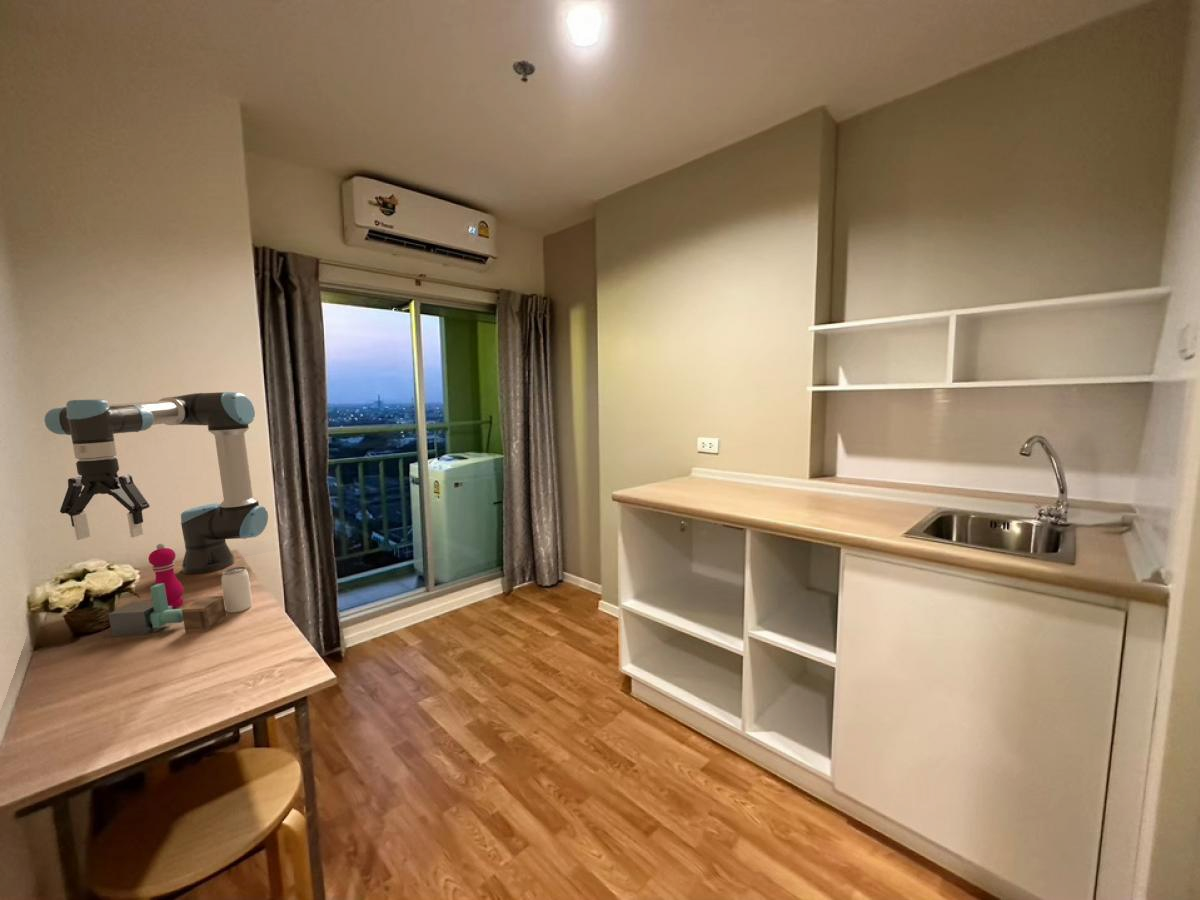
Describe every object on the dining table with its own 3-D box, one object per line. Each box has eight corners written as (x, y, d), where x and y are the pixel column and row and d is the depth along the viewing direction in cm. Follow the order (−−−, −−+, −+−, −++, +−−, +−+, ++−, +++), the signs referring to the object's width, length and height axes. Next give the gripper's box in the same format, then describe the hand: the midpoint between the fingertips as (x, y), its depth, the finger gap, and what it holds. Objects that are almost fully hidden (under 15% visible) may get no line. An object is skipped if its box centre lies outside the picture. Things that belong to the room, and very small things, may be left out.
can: (258, 603, 146) (252, 566, 144) (240, 613, 139) (234, 574, 137) (238, 603, 146) (233, 566, 144) (220, 613, 140) (214, 574, 138)
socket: (206, 619, 136) (203, 597, 135) (226, 618, 137) (223, 595, 136) (185, 633, 129) (181, 609, 128) (206, 631, 129) (203, 608, 128)
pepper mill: (171, 612, 142) (160, 547, 139) (147, 612, 142) (136, 548, 139) (192, 601, 149) (182, 539, 146) (169, 601, 149) (159, 540, 146)
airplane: (113, 630, 129) (106, 591, 127) (129, 621, 133) (123, 583, 132) (175, 626, 130) (169, 588, 128) (189, 618, 134) (183, 580, 133)
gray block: (136, 623, 135) (132, 602, 134) (169, 622, 135) (165, 600, 134) (112, 636, 128) (108, 613, 127) (147, 634, 128) (143, 611, 127)
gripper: (29, 462, 119) (45, 543, 122) (133, 458, 121) (146, 539, 124) (61, 458, 127) (75, 534, 130) (159, 454, 128) (170, 530, 131)
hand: (110, 537), depth 127 cm, fingers open, 13 cm apart
